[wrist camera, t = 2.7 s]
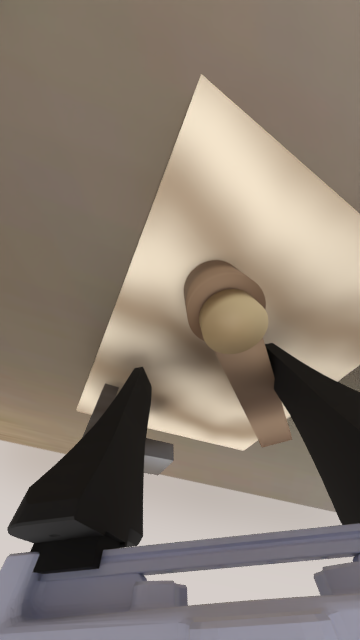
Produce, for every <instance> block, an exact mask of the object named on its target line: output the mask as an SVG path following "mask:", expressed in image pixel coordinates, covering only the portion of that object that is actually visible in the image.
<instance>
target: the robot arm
mask: <svg viewBox="0 0 360 640" xmlns="http://www.w3.org/2000/svg"><path fill="white" fill-rule="evenodd" d="M265 346H266V350H267V353H268V357H269V360H270V364H271V367H272V371H273V374H274V378H275V380H274V391H275V392H276V394H277V395H278V397H279V398H280V400H281V402H282V403H283V405H284V406H285V408H286V410H287V411H288V413H289V414H290V416H291V418H292V419H293V421H294V423H295V425H296V427H297V429H298V431H299V433H300V435H301V437H302V439H303V441H304V443H305V445H306V447H307V449H308V451H309V453H310V455H311V457H312V459H313V461H314V463H315V465H316V468H317V470H318V472H319V474H320V476H321V478H322V480H323V483H324V485H325V487H326V489H327V492H328V494H329V496H330V498H331V501H332V503H333V505H334V508H335V510H336V512H337V515H338V517H339V519H340V521H341V523H342V525H338V526H330V527H319V528H310V529H300V530H290V531H282V532H271V533H262V534H252V535H243V536H233V537H224V538H214V539H205V540H194V541H185V542H175V543H166V544H156V545H146V546H138V547H132V546H137V545H138V544H139V542H140V541H141V538H142V537H143V477H144V456H145V441H146V433H147V427H148V420H149V414H150V407H151V396H152V386H151V383H150V381H149V379H148V377H147V374H146V372H145V370H144V368H143V367H138V368H134V370H133V371H132V373H131V374H130V376H129V377H128V379H127V381H126V382H125V384H124V385H123V387H122V388H121V390H120V391H119V393H118V394H117V396H116V397H115V399H114V400H113V402H112V403H111V404H110V406H109V407H108V408H107V410H106V411H105V412H104V414H103V415H102V416H101V417H100V419H99V420H98V421H97V422H96V423H95V425H94V426H93V427H92V428H91V429H90V430H89V431H88V432H87V434H86V435H85V436H84V437H83V438H82V439H81V440H80V441H79V442H78V443H77V444H76V445H75V446H74V447H73V448H72V449H71V450H70V451H69V452H68V453H67V454H66V455H65V456H64V457H63V458H62V459H61V460H60V461H59V462H58V463H57V464H56V465H55V466H54V467H52V468H51V469H50V470H49V471H48V472H47V473H45V474H44V475H43V476H42V477H41V478H40V479H39V480H38V481H36V482H35V483H34V484H33V485H32V486H31V487H29V489H28V491H27V493H26V495H25V497H24V498H23V500H22V502H21V504H20V506H19V508H18V509H17V511H16V513H15V515H14V517H13V519H12V521H11V522H10V524H9V526H8V533H9V534H10V535H12V536H14V537H17V538H20V539H23V540H26V541H29V542H32V543H34V545H33V547H32V549H31V551H30V552H26V553H17V554H10V555H9V556H8V557H7V558H6V560H5V562H4V564H3V567H2V569H1V571H0V640H360V392H358V391H356V390H353V389H351V388H349V387H347V386H345V385H343V384H341V383H339V382H337V381H335V380H333V379H331V378H329V377H327V376H325V375H323V374H322V373H320V372H318V371H316V370H315V369H313V368H311V367H309V366H308V365H306V364H304V363H303V362H301V361H300V360H298V359H296V358H295V357H293V356H292V355H290V354H289V353H287V352H286V351H284V350H283V349H281V348H280V347H278V346H277V345H275V344H274V343H269V344H265ZM123 547H127V548H123ZM352 556H355V557H354V558H353V562H351V563H345V564H338V565H333V566H326V567H323V570H322V571H321V572H318V573H316V574H314V579H315V582H316V584H317V587H318V589H319V592H320V595H321V596H308V597H292V598H279V599H264V600H251V601H238V602H226V603H214V604H202V605H192V606H188V605H187V587H186V586H185V585H180V584H176V583H174V581H147V580H146V578H145V577H144V575H155V574H165V573H177V572H187V571H198V570H208V569H220V568H231V567H242V566H252V565H263V564H275V563H286V562H297V561H308V560H319V559H330V558H340V557H352Z"/></svg>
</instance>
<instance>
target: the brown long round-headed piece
mask: <svg viewBox="0 0 360 640" xmlns="http://www.w3.org/2000/svg"><path fill="white" fill-rule="evenodd" d="M227 289H239V290H243V291H245V292H247V293H249V294H250V295H251V296H252V297H253V298H254V299H255V300H256V301H257V302H258V303H259V304H261V305H262V306H263V308H264V309H266V300H265V296H264V293H263V291H262V289H261V288H260V286H259V285H258V284H257V283H256V282H254V281H253V280H252V279H250V278H249V277H248V276H246V275H245V274H244V273H242V272H241V271H240V270H238V269H237V268H236V267H234V266H233V265H231V264H230V263H228V262H225V261H220V260H212V261H207V262H204V263H202V264H200V265H199V266H197V267H196V268H195V269H194V270H192V272H191V273H190V274H189V276H188V277H187V279H186V281H185V285H184V299H185V306H186V312H187V319H188V323H189V326H190V328H191V330H192V332H193V333H194V334H195V335H196V336H197V337H198V338H200V339H201V340H203V341H204V338H203V335H202V331H201V327H200V323H199V314H200V311H201V308H202V306H203V305H204V303H205V302H206V301H207V300H208V299H209V298H210V297H211V296H213V295H214V294H216V293H218V292H220V291H223V290H227ZM215 353H216V355H217V357H218V359H219V361H220V363H221V365H222V367H223V370H224V372H225V374H226V376H227V378H228V380H229V382H230V384H231V386H232V388H233V390H234V392H235V394H236V396H237V398H238V400H239V402H240V404H241V406H242V408H243V410H244V412H245V414H246V416H247V418H248V420H249V422H250V424H251V426H252V429H253V431H254V433H255V435H256V437H257V439H258V441H259V443H260V445H261V447H265V446H269V445H273V444H277V443H281V442H285V441H289V440H292V437H291V433H290V430H289V426H288V423H287V419H286V416H285V412H284V409H283V405H282V402H281V400H280V398H279V397H278V395H277V394H276V392H275V391H274V380H275V378H274V374H273V371H272V367H271V364H270V360H269V357H268V353H267V350H266V346H265V343H264V339H263V338H262V339H261V340H260V341H259V342H258V343H257V344H256V345H255V346H254V347H252V348H250V349H249V350H246V351H244V352H241V353H237V354H222V353H219V352H216V351H215Z"/></svg>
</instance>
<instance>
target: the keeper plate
mask: <svg viewBox="0 0 360 640" xmlns="http://www.w3.org/2000/svg"><path fill="white" fill-rule="evenodd" d="M212 260H220V261H225V262H228V263H230V264H231V265H233V266H234V267H236V268H237V269H238V270H240V271H241V272H242V273H244V274H245V275H246V276H248V277H249V278H250V279H252V280H253V281H254V282H256V283H257V284H258V285H259V286H260V288H261V289H262V291H263V293H264V296H265V300H266V309H264V308H263V306H262V305H261V304H259V303H258V302H257V301H256V300H255V299H254V298H253V297H252V296H251V295H250V294H249V293H247V292H245V291H243V290H239V289H227V290H223V291H220V292H218V293H216V294H214V295H213V296H211V297H210V298H209V299H208V300H207V301H206V302H205V303H204V305H203V306H202V308H201V311H200V314H199V323H200V327H201V331H202V335H203V338H204V341H203V340H201V339H200V338H198V337H197V336H196V335H195V334H194V333H193V332H192V330H191V328H190V326H189V323H188V319H187V312H186V306H185V299H184V285H185V281H186V279H187V277H188V276H189V274H190V273H191V272H192V270H194V269H195V268H196V267H197V266H199V265H200V264H202V263H204V262H207V261H212ZM262 338H263V339H264V343H265V344H269V343H274V344H275V345H277V346H278V347H280V348H281V349H283V350H284V351H286V352H287V353H289V354H290V355H292V356H293V357H295V358H296V359H298V360H300V361H301V362H303V363H304V364H306V365H308V366H309V367H311V368H313V369H315V370H316V371H318V372H320V373H322V374H323V375H325V376H327V377H329V378H331V379H333V380H335V381H339V380H340V379H341V378H343V377H344V376H345V375H347V374H348V373H349V372H351V371H352V370H354V369H355V368H356V367H358V366H359V365H360V214H359V213H358V212H357V211H356V210H355V209H354V208H352V207H351V206H350V205H349V204H348V203H347V202H346V201H345V200H343V199H342V198H341V197H340V196H339V195H338V194H337V193H335V192H334V191H333V190H332V189H331V188H330V187H329V186H328V185H326V184H325V183H324V182H323V181H322V180H321V179H320V178H318V177H317V176H316V175H315V174H314V173H313V172H312V171H311V170H309V169H308V168H307V167H306V166H305V165H304V164H303V163H301V162H300V161H299V160H298V159H297V158H296V157H295V156H293V155H292V154H291V153H290V152H289V151H288V150H287V149H286V148H284V147H283V146H282V145H281V144H280V143H279V142H278V141H276V140H275V139H274V138H273V137H272V136H271V135H270V134H269V133H267V132H266V131H265V130H264V129H263V128H262V127H261V126H259V125H258V124H257V123H256V122H255V121H254V120H253V119H252V118H250V117H249V116H248V115H247V114H246V113H245V112H244V111H242V110H241V109H240V108H239V107H238V106H237V105H236V104H235V103H233V102H232V101H231V100H230V99H229V98H228V97H227V96H225V95H224V94H223V93H222V92H221V91H220V90H219V89H217V88H216V87H215V86H214V85H213V84H212V83H211V82H210V81H208V80H207V79H206V78H205V77H204V76H203V75H202V74H201V77H200V79H199V82H198V85H197V87H196V90H195V93H194V95H193V98H192V101H191V103H190V106H189V109H188V111H187V114H186V117H185V120H184V122H183V125H182V128H181V130H180V133H179V136H178V138H177V141H176V144H175V146H174V149H173V152H172V154H171V157H170V160H169V163H168V165H167V168H166V171H165V173H164V176H163V179H162V181H161V184H160V187H159V189H158V192H157V195H156V197H155V200H154V203H153V206H152V208H151V211H150V214H149V216H148V219H147V222H146V224H145V227H144V230H143V232H142V235H141V238H140V240H139V243H138V246H137V249H136V251H135V254H134V257H133V259H132V262H131V265H130V267H129V270H128V273H127V275H126V278H125V281H124V283H123V286H122V289H121V292H120V294H119V297H118V300H117V302H116V305H115V308H114V310H113V313H112V316H111V318H110V321H109V324H108V326H107V329H106V332H105V335H104V337H103V340H102V343H101V345H100V348H99V351H98V353H97V356H96V359H95V361H94V364H93V367H92V369H91V372H90V375H89V378H88V380H87V383H86V386H85V388H84V391H83V394H82V396H81V399H80V402H79V404H78V407H77V410H76V411H78V412H82V413H87V414H91V415H92V416H91V418H90V420H89V423H88V425H87V428H86V430H85V432H84V435H83V437H84V436H85V435H86V434H87V432H88V431H89V430H90V429H91V428H92V427H93V426H94V425H95V423H96V422H97V421H98V420H99V419H100V417H101V416H102V415H103V414H104V412H105V411H106V410H107V408H108V407H109V406H110V404H111V403H112V402H113V400H114V399H115V397H116V396H117V394H118V393H119V391H120V390H121V388H122V387H123V385H124V384H125V382H126V381H127V379H128V377H129V376H130V374H131V373H132V371H133V370H134V368H138V367H143V368H144V370H145V372H146V374H147V377H148V379H149V381H150V383H151V386H152V396H151V407H150V414H149V420H148V427H147V428H150V429H154V430H158V431H162V432H167V433H171V434H175V435H179V436H184V437H188V438H192V439H196V440H200V441H205V442H209V443H213V444H217V445H222V446H226V447H230V448H234V449H238V450H243V451H244V450H245V449H246V448H248V447H249V446H251V445H252V444H253V443H255V442H256V441H257V440H258V439H257V437H256V435H255V433H254V431H253V429H252V426H251V424H250V422H249V420H248V418H247V416H246V414H245V412H244V410H243V408H242V406H241V404H240V402H239V400H238V398H237V396H236V394H235V392H234V390H233V388H232V386H231V384H230V382H229V380H228V378H227V376H226V374H225V372H224V370H223V367H222V365H221V363H220V361H219V359H218V357H217V355H216V353H215V351H216V352H219V353H222V354H237V353H241V352H244V351H246V350H249V349H250V348H252V347H254V346H255V345H256V344H257V343H258V342H259V341H260V340H261V339H262ZM282 405H283V403H282ZM283 409H284V412H285V416H286V419H287V418H289V417H290V414H289V413H288V411H287V410H286V408H285V406H284V405H283ZM83 437H82V438H83ZM172 462H173V444H170V443H166V442H161V441H157V440H152V439H147V438H146V441H145V456H144V473H148V474H155V475H159V474H160V473H161V472H162V471H163V470H164V469H165V468H166V467H167V466H168V465H169V464H171V463H172Z"/></svg>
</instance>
